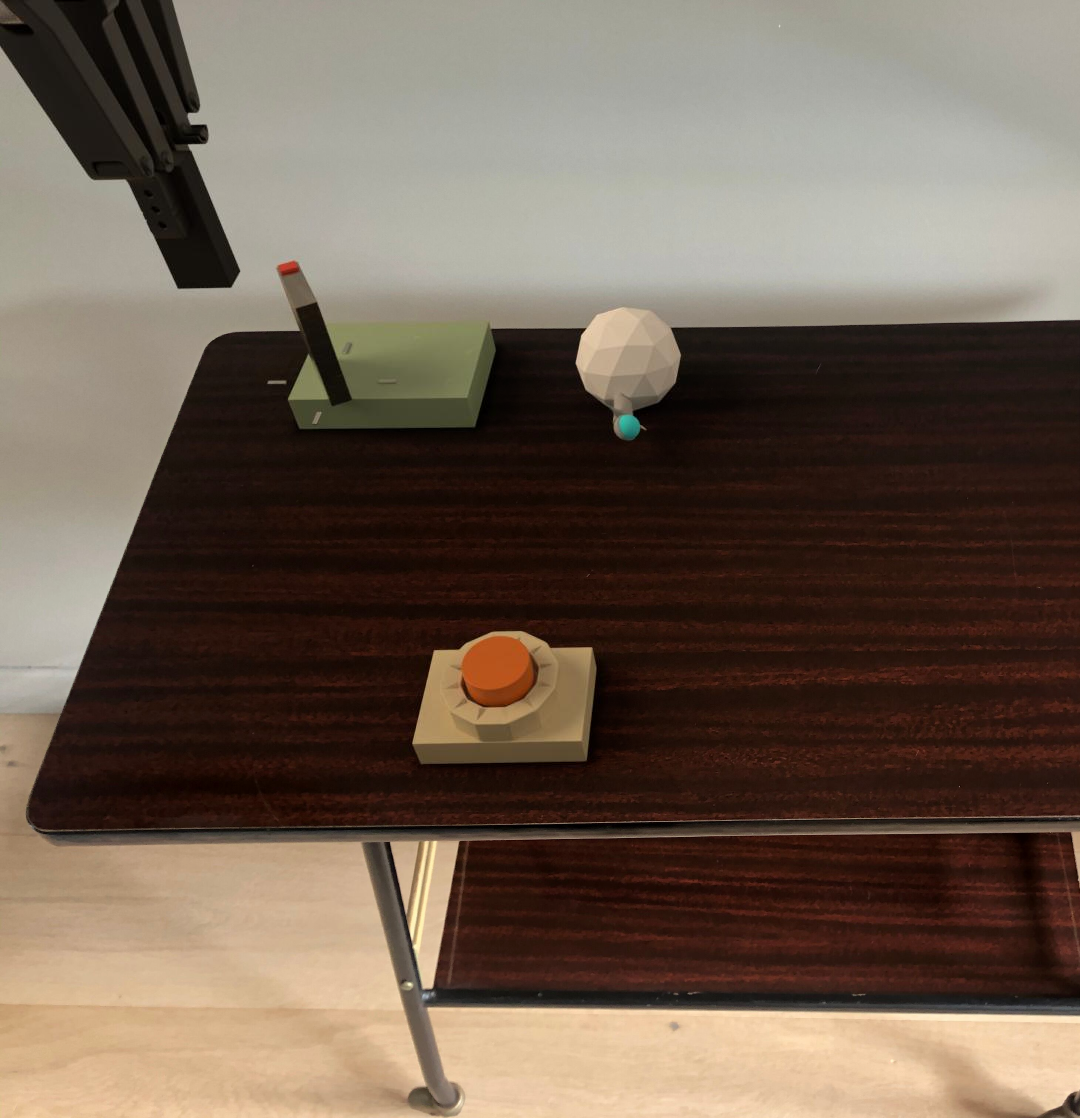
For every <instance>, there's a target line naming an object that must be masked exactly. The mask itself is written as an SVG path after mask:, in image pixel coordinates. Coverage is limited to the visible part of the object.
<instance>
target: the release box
mask: <svg viewBox="0 0 1080 1118" xmlns="http://www.w3.org/2000/svg"><path fill="white" fill-rule="evenodd" d="M495 636H507V637H512V638H515V639H517V640H519V641H520V642H522V643H523V644H524V645H525V646H526V648H527V649H528V652H529V655H530V659H531V662H532V666H533V670H534V681H533V684H532V686H531V688H530V690H529V691H528V692H527V693H526V694H525V695H524V696H523V697H522V698H521V699H519V700H518V701H516V702H514V703H512V704H509V705H506V706H501V707H491V706H486V705H482V704H480V703H478V702H477V701H475V700H474V699H473V698H472V697H471V695H470V694H469V692H468V689H467V686H466V683H465V680H464V677H463V675H462V670H461V666H462V661H463V658H464V656H465V654H466V653H467V652H468V650H469V649H470V648H471V647H472V646H474V645H475V644H476V643H478V642H480V641H482V640H484V639H487V638H490V637H495ZM597 669H598V668H597V664H596V659H595V654H594V649H593V647H592V646H591V647H589V646H588V647H586V646H585V647H550V645H549V644H548V642H546V641H544V640H542V639H540V638H538V637H536V636H535V635H534V636H533V635H532V634H529V633H528V632H525V631H522V630H518V631H517V630H515V631H514V630H509V631H507V630H506V631H491V632H489V633H487V634H483V635H482V636H480V637H477V638H475V639H473V640H471V641H468V642H466V643H465V644H464V645H462V646H461V647H460V649H437V650H435V649H434V650H433V653H432V658H431V662H430V667H429V671H428V676H427V679H426V684H425V688H424V692H423V697H422V700H421V705H420V709H419V714H418V718H417V722H416V727H415V731H414V735H413V740H412V746H413V749H414V751H415V754H416V755H417V758H418V760H419V763H420V764H421V765H431V764H432V765H439V764H440V765H443V764H445V765H446V764H447V765H448V764H495V763H496V764H498V763H501V764H502V763H503V764H504V763H506V764H507V763H557V762H559V763H561V762H587V759H588V750H589V741H590V733H591V732H590V731H591V725H592V724H591V722H592V716H593V715H592V713H593V706H594V696H595V688H596V687H595V685H596V676H597Z"/></svg>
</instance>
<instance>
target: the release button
mask: <svg viewBox="0 0 1080 1118" xmlns="http://www.w3.org/2000/svg"><path fill="white" fill-rule="evenodd" d="M461 670H462V675H463V677H464V680H465V683H466V686H467V689H468V692H469V694H470V695H471V697H472V698H473V699H474V700H475V701H477V702H478V703H480V704H482V705H486V706H491V707H501V706H506V705H509V704H512V703H514V702H516V701H518V700H519V699H521V698H522V697H523V696H524V695H525V694H526V693H527V692H528V691H529V690H530V688H531V686H532V684H533V681H534V670H533V666H532V662H531V659H530V655H529V652H528V649H527V648H526V646H525V645H524V644H523V643H522V642H520V641H519V640H517V639H515V638H512V637H507V636H495V637H490V638H487V639H484V640H482V641H480V642H478V643H476V644H475V645H474V646H472V647H471V648H470V649H469V650H468V652H467V653H466V654H465V656H464V658H463V661H462V666H461Z"/></svg>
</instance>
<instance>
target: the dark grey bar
mask: <svg viewBox="0 0 1080 1118" xmlns="http://www.w3.org/2000/svg"><path fill="white" fill-rule="evenodd" d="M275 269H276V272H277V275H278V277H279V279H280V282H281V285H282V288H283V290H284V293H285V295H286V298H287V300H288V303H289V305H290V308H291V312H292V314H293V317H294V319H295V322H296V325H297V327H298V330H299V332H300V335H301V338H302V340H303V343H304V345H305V348H306V351H307V353H308V354H309V356H310V359H311V361H312V364H313V366H314V368H315V371H316V373H317V375H318V377H319V379H320V382H321V384H322V386H323V388H324V390H325V393H326V395H327V397H328V399H329V401H330V403H331V406H336V405H339V404H342V403H345V402H348V401H351V400H352V397H351V394H350V392H349V389H348V386H347V383H346V380H345V378H344V375H343V372H342V369H341V367H340V364H339V361H338V358H337V355H336V353H335V350H334V347H333V344H332V341H331V339H330V336H329V333H328V330H327V328H326V325H325V323H326V322H325V319H324V317H323V313H322V311H321V308H320V306H319V303H318V300H317V299H316V298H317V297H316V296H315V293H314V292H313V290H312V288H311V286H310V284H309V282H308V280H307V278H306V276H305V274H304V272H303V270H302V268H301V266H300V264H299V262H298V261H296V260H291V261H288V262H284V263H280V264H278V265H276V267H275Z"/></svg>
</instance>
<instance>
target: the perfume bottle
mask: <svg viewBox="0 0 1080 1118" xmlns="http://www.w3.org/2000/svg"><path fill="white" fill-rule="evenodd" d="M681 357H682V355H681V350H680V349H679V346H678V343H677V340H676V339H675V336H674V333H673V331H672V328H671V327H670V326H669V325H668V324H667V323H666V322H664V321H663V320H662V319H660V317H659V316H657V315H656V314H655V313H654V312H653V311H652V310H647V309H640V308H632V307H625V306H622V307H618V308H616V309H612V310H609V311H605V312H602V313H598V314H596V316H595V317H594V318H593V320H592V321H591V322H590V323H589V324H588V326H587V327H586V329H585V330H584V331H583V333H582V334H581V336H580V340H579V345H578V350H577V354H576V360H575V365H576V368H577V371H578V373H579V376H580V379H581V382H582V384H583V386H584V389H585V391H586V392H588V393H589V394H590V395H592V397H594V398H595V399H596V400H597V401H599V402H601V403H602V404H603V405H604V406H606V407H608V409H610V410H611V411H612V413H613V418H612V419H613V420H612V424H613V431H614V433H615V435H616V437H618V438H619V439H621V440H622V441H633V440H635V438H636V437H637V436H638V435H639V433H640V431H641V429H642V430H644V431H647V428H645V427H644V426H643V425H641V424H640V421H639V419H637V417H635V416H634V412H635V411H637V410H640V409H643V408H646V407H649V406H653V405H655V404H658V403H660V402H661V400H662V399H663V398H664V397H665V396H666V395H667V394H668V392H670V390H671V389H672V388H673V387H674V385H675V384H676V382H677V377H678V372H679V367H680V361H681Z"/></svg>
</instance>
